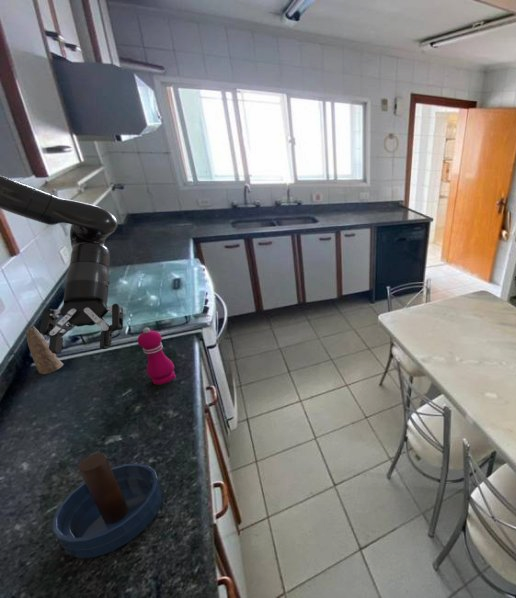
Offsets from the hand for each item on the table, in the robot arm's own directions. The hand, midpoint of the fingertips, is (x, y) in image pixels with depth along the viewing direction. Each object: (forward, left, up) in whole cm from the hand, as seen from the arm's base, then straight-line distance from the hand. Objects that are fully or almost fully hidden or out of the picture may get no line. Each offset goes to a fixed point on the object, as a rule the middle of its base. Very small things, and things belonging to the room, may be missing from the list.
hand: (80, 350), depth 74 cm
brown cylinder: (+5, -23, -28) cm, 36 cm away
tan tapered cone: (-25, +38, -29) cm, 54 cm away
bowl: (+5, -23, -29) cm, 37 cm away
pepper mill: (+7, +24, -29) cm, 38 cm away
